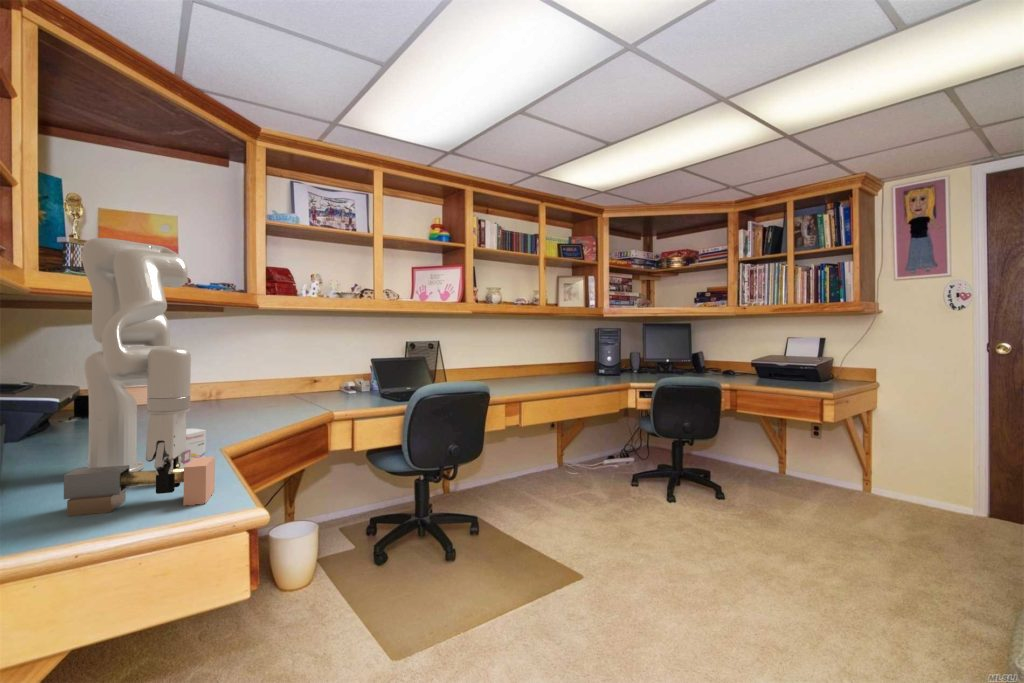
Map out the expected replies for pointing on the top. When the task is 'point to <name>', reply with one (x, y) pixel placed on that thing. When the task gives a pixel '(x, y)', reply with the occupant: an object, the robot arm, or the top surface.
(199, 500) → the socket
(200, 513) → the top surface
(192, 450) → the ink box
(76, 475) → the grey block
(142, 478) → the tube
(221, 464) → the top surface
